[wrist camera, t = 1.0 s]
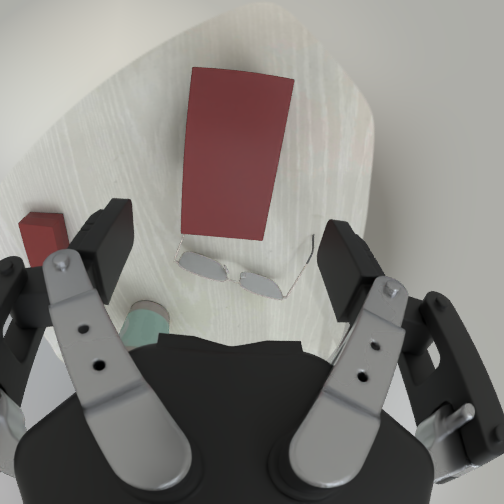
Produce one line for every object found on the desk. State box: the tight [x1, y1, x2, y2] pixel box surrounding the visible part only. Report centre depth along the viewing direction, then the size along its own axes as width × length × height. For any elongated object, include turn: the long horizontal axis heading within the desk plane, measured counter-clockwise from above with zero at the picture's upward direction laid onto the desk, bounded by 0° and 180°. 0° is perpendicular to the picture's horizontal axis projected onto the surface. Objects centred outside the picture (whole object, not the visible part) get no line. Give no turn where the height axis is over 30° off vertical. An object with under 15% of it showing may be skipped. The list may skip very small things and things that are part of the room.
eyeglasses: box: [174, 234, 314, 300], centre depth 31 cm, size 14×8×4 cm, turn 63°
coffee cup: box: [119, 301, 169, 351], centre depth 34 cm, size 9×8×12 cm
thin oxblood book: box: [181, 67, 294, 241], centre depth 19 cm, size 12×6×2 cm, turn 171°
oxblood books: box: [18, 212, 70, 267], centre depth 30 cm, size 12×6×3 cm, turn 171°
